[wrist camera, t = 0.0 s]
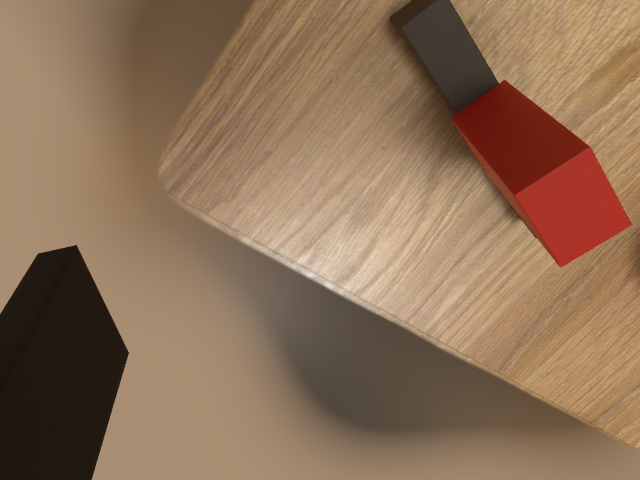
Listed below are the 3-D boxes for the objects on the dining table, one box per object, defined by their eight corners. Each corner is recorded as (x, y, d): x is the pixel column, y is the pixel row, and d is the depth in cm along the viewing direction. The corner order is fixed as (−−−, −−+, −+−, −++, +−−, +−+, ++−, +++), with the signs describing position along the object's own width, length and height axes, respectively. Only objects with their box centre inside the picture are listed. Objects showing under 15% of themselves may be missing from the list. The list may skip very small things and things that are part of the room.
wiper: (516, 221, 35) (610, 345, 25) (384, 21, 29) (443, 85, 19) (562, 192, 34) (677, 308, 25) (437, -20, 28) (526, 26, 19)
